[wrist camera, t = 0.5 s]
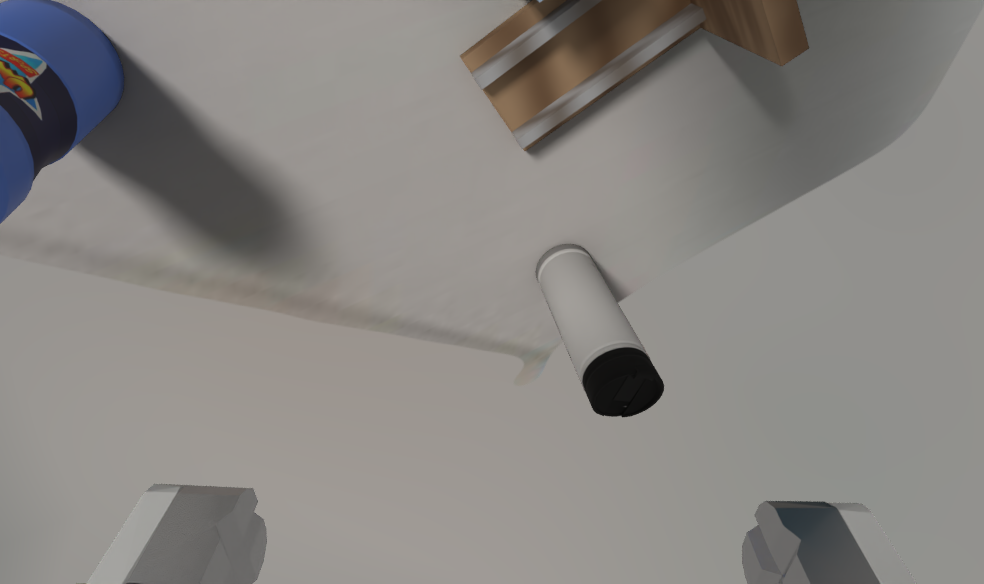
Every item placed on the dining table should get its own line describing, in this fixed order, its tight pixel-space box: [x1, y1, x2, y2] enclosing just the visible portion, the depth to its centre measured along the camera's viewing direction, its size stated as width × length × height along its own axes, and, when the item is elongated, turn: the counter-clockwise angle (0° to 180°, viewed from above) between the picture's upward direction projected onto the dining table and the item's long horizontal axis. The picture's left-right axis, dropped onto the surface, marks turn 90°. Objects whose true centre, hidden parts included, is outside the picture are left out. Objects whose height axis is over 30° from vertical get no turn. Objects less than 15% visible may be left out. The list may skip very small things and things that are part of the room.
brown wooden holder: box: [460, 0, 809, 151], centre depth 43 cm, size 20×10×13 cm, turn 124°
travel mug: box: [536, 244, 664, 417], centre depth 55 cm, size 6×7×20 cm
